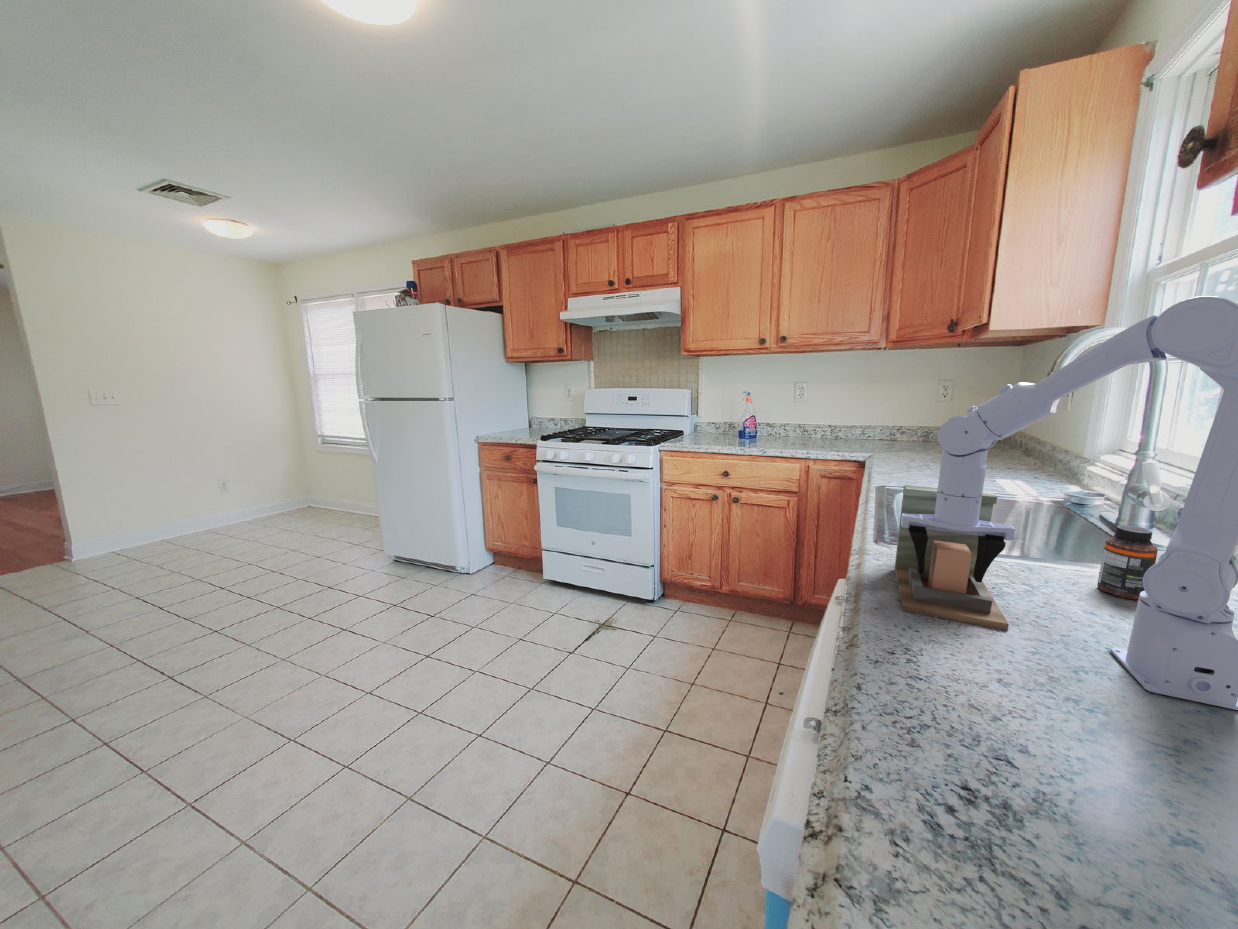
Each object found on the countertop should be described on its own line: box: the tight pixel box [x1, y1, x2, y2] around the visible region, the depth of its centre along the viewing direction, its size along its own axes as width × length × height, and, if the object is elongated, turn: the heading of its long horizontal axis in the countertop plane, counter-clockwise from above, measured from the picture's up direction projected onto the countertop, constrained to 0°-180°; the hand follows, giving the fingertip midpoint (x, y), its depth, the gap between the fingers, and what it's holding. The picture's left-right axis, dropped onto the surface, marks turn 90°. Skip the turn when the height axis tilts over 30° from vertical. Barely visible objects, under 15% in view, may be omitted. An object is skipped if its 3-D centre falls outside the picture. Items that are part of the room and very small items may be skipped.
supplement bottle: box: [1097, 524, 1159, 600], centre depth 79 cm, size 6×6×11 cm
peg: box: [928, 540, 972, 594], centre depth 77 cm, size 4×4×8 cm
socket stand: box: [894, 484, 1010, 631], centre depth 77 cm, size 18×13×16 cm
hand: (948, 575), depth 77 cm, fingers open, 7 cm apart
